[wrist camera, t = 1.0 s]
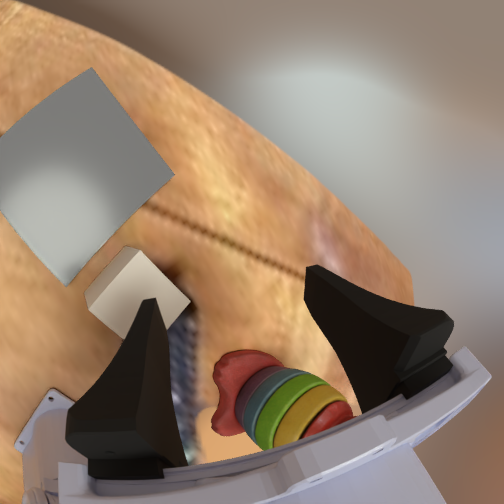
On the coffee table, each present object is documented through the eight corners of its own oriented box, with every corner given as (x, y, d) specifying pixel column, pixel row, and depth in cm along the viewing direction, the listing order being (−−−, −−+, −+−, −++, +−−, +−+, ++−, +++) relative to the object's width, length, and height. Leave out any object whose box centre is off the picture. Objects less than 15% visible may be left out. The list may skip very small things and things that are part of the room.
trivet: (66, 284, 17) (66, 287, 16) (-24, 171, 12) (-28, 168, 11) (169, 177, 22) (174, 174, 21) (89, 74, 16) (91, 67, 15)
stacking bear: (213, 353, 26) (374, 449, 12) (287, 340, 32) (428, 391, 18) (209, 435, 26) (328, 533, 12) (276, 413, 32) (390, 476, 18)
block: (128, 331, 21) (145, 356, 17) (83, 292, 18) (88, 309, 14) (166, 287, 23) (190, 301, 19) (125, 245, 20) (140, 250, 16)
